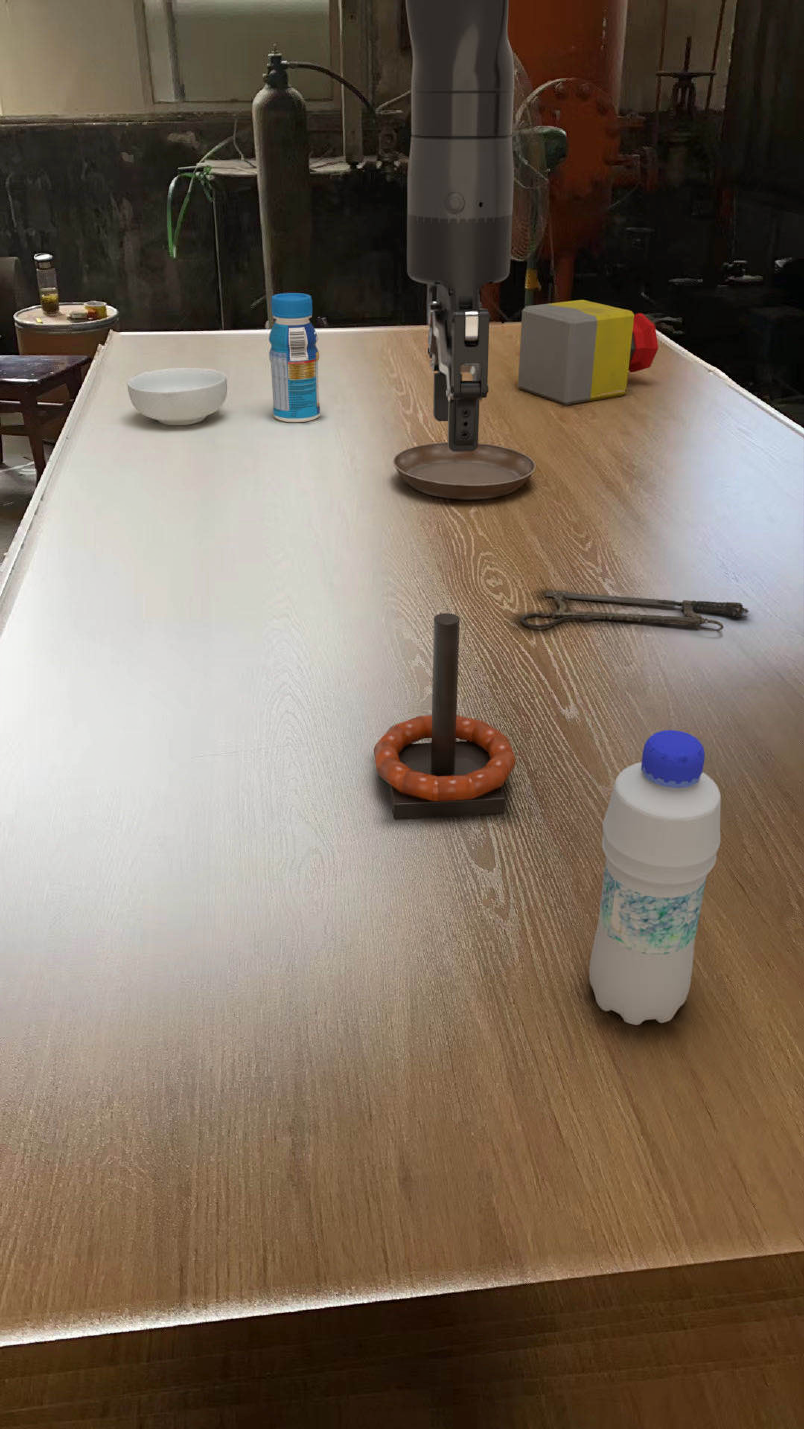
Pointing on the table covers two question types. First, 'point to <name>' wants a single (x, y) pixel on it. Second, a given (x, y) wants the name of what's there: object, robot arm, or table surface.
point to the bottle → (654, 879)
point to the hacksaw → (688, 606)
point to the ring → (444, 785)
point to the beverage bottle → (294, 359)
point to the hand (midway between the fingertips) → (454, 434)
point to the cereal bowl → (178, 394)
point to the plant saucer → (464, 470)
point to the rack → (445, 739)
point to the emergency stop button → (582, 350)
